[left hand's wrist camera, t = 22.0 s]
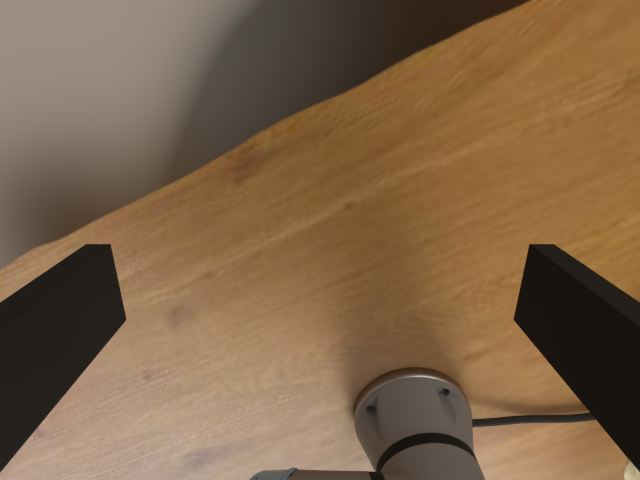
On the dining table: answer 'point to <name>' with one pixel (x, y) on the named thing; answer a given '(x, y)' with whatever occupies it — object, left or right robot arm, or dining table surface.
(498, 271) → the dining table surface
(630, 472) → the bowl
